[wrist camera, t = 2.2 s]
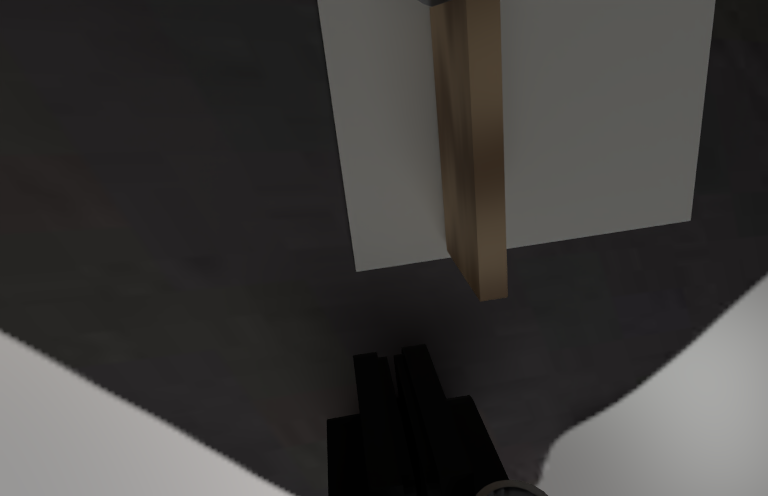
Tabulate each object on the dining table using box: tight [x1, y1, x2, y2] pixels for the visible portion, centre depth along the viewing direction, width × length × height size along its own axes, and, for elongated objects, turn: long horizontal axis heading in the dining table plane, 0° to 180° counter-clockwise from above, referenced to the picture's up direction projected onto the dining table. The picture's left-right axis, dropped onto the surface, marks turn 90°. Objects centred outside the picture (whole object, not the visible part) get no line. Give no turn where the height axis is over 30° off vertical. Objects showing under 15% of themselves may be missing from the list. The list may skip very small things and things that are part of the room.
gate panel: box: [430, 0, 508, 301], centre depth 23 cm, size 12×1×6 cm, turn 6°
